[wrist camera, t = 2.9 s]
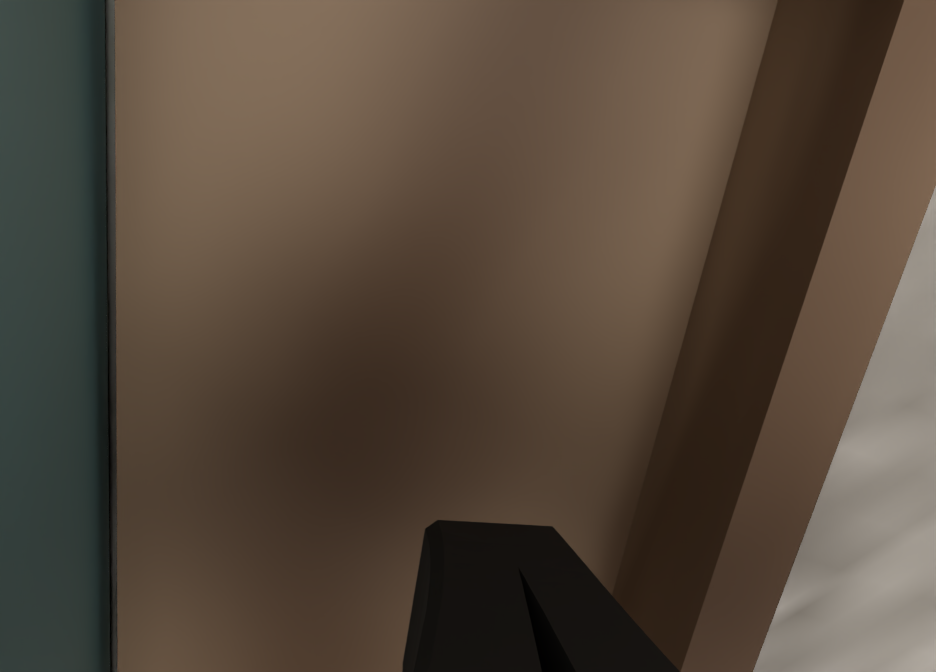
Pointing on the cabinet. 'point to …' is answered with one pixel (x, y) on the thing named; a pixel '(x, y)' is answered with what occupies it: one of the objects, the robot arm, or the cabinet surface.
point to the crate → (493, 302)
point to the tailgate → (53, 338)
